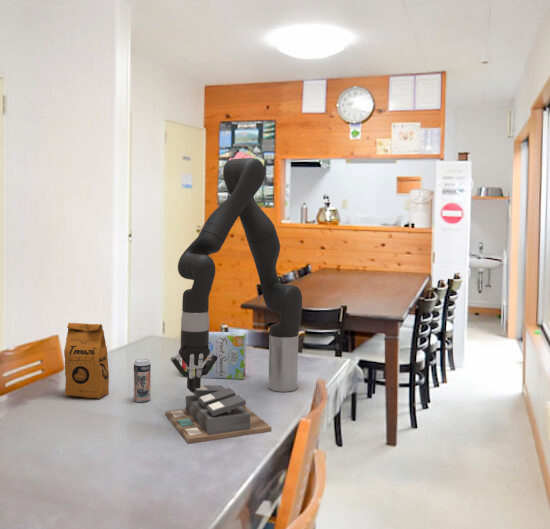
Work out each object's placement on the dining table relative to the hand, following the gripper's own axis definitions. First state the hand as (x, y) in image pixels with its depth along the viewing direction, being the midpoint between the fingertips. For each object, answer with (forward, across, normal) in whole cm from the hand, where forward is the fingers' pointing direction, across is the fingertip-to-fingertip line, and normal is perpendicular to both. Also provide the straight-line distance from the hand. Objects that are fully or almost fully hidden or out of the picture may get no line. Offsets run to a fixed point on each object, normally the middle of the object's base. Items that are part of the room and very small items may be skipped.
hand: (193, 390), depth 164 cm
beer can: (+8, +10, -19) cm, 23 cm away
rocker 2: (+2, -5, +7) cm, 8 cm away
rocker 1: (+2, -4, 0) cm, 4 cm away
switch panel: (+7, -4, +7) cm, 11 cm away
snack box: (+7, -18, -36) cm, 41 cm away
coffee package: (+8, +24, -30) cm, 39 cm away
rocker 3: (+2, -5, +14) cm, 15 cm away
